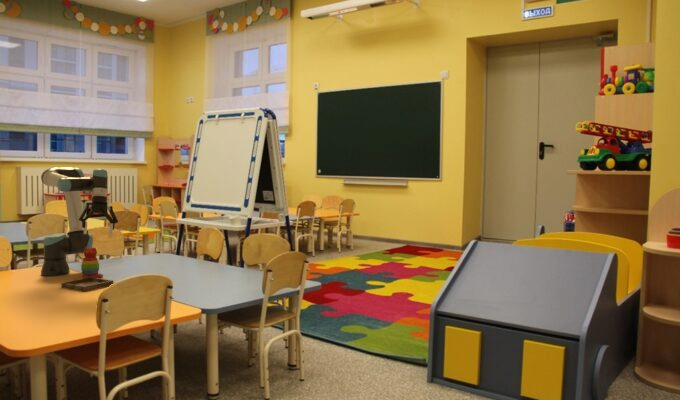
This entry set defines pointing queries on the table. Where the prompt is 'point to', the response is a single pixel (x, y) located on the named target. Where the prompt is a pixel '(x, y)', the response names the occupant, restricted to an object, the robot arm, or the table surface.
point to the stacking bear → (90, 264)
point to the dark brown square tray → (86, 284)
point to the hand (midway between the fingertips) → (98, 234)
